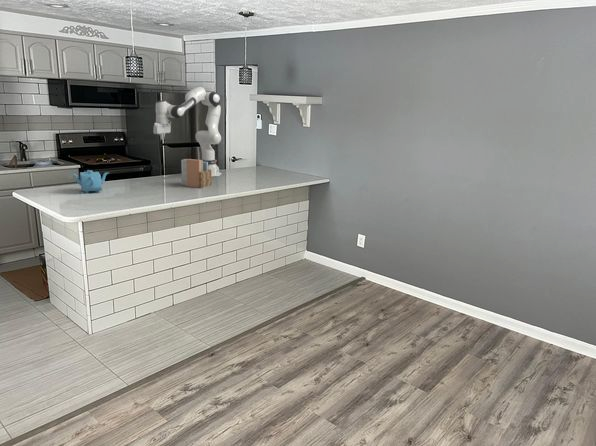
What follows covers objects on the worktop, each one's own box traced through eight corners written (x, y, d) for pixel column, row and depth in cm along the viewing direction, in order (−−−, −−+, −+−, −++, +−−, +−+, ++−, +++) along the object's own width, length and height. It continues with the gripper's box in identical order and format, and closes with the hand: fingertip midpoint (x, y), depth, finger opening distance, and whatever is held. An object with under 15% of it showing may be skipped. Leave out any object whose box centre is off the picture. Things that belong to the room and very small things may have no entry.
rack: (209, 184, 358) (209, 169, 355) (211, 184, 357) (211, 169, 354) (199, 188, 341) (198, 172, 338) (201, 188, 341) (201, 172, 337)
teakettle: (93, 195, 301) (92, 173, 297) (70, 192, 305) (68, 171, 301) (111, 190, 318) (110, 169, 315) (89, 187, 323) (88, 167, 319)
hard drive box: (203, 185, 352) (203, 160, 347) (199, 187, 345) (199, 161, 340) (185, 183, 356) (185, 158, 351) (181, 185, 349) (180, 159, 343)
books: (196, 183, 359) (196, 157, 353) (208, 184, 357) (208, 158, 351) (187, 186, 344) (186, 159, 339) (199, 187, 342) (199, 160, 336)
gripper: (158, 122, 343) (158, 140, 347) (171, 121, 362) (172, 138, 366) (151, 121, 344) (151, 139, 348) (164, 120, 364) (165, 138, 367)
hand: (162, 139), depth 357 cm, fingers closed
